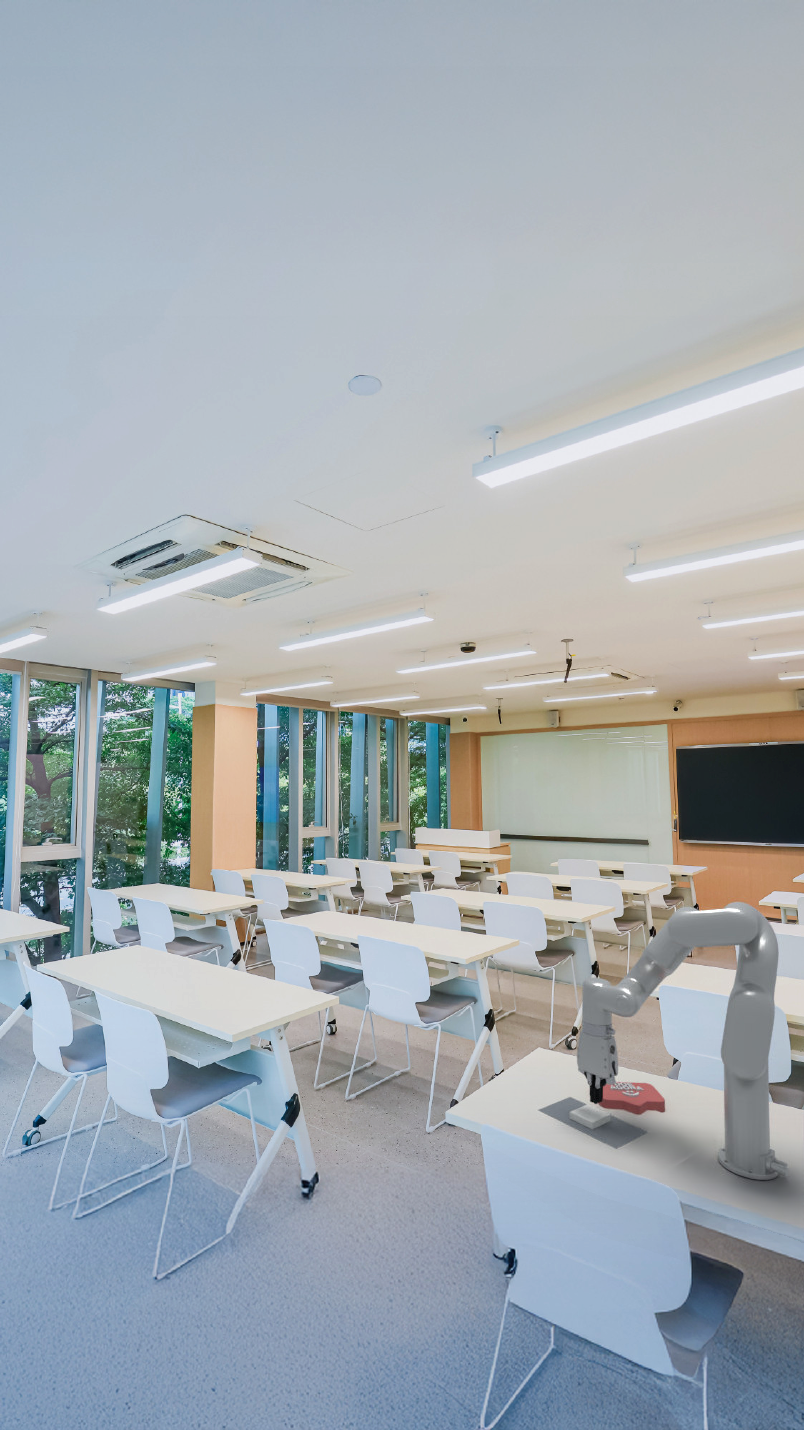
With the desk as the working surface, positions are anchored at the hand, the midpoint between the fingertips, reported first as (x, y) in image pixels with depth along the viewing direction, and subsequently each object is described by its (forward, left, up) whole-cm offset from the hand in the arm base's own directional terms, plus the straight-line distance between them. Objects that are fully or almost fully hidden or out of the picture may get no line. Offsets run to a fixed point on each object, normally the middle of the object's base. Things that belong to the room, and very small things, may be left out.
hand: (596, 1101), depth 175 cm
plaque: (+2, -18, -7) cm, 20 cm away
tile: (-2, 0, -4) cm, 5 cm away
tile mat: (+1, 0, -6) cm, 6 cm away
